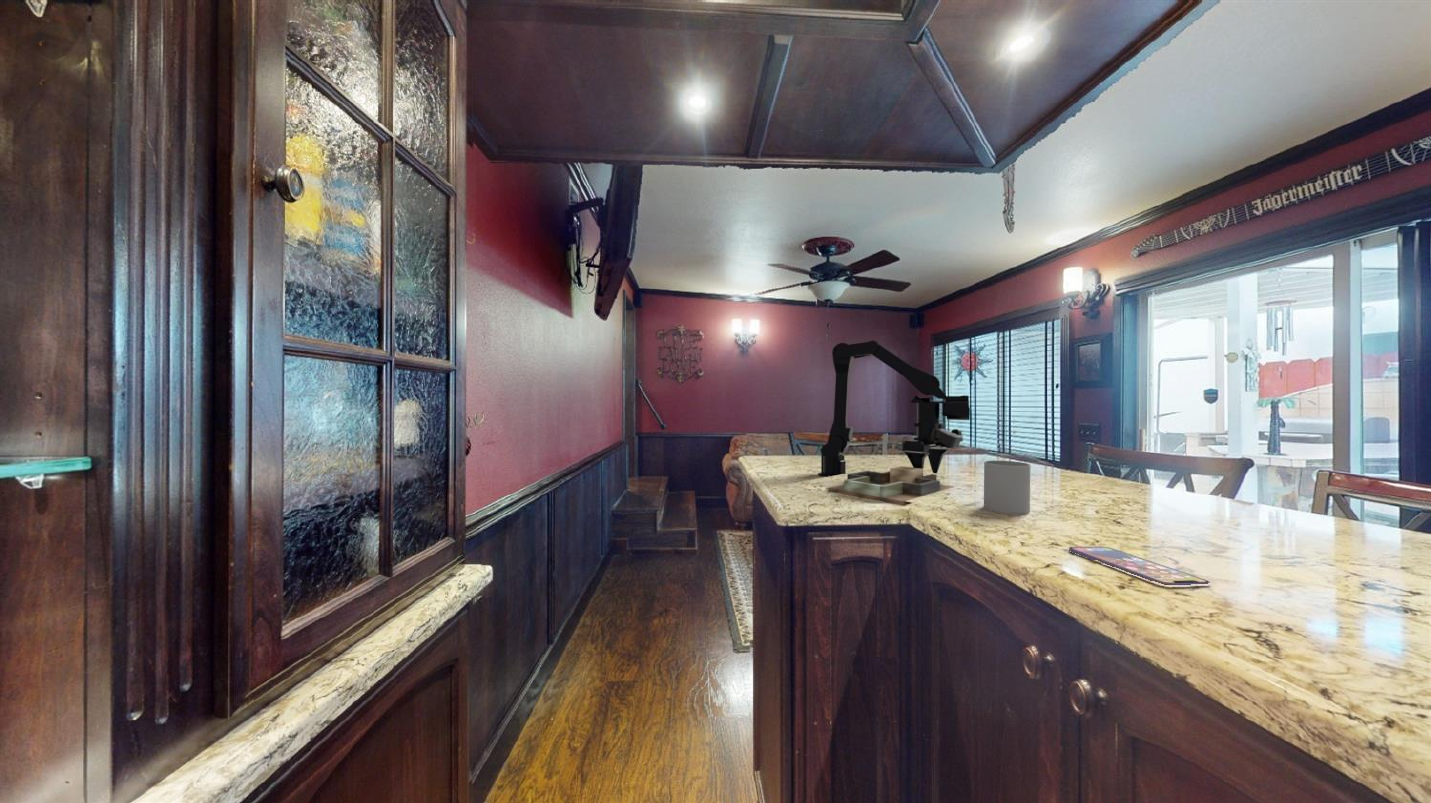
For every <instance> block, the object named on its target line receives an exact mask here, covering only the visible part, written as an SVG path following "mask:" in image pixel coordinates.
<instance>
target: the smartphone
mask: <svg viewBox="0 0 1431 803" xmlns="http://www.w3.org/2000/svg"><path fill="white" fill-rule="evenodd" d="M1069 551H1071V552H1073V553H1076V554H1079V555H1081V556H1084V557H1087V558H1089V559H1092V560H1098V561H1100V562H1102V563H1105V564H1107V565H1110V566H1112V567H1116V568H1119V569H1121V570H1124V571H1126V572H1129V573H1131V574H1134V575H1137V576H1140V577H1142V578H1145V579H1148V580H1150V581H1155V582H1158V583H1161V584H1164V585H1191V584H1208V583H1211V582H1210V580H1208V579H1204V578H1201V577H1199V576H1196V575H1193V574H1189V573H1186V572H1183V571H1181V570H1178V569H1175V568H1172V567H1169V566H1166V565H1163V564H1160V563H1156V562H1154V561H1151V560H1149V559H1148V560H1147V559H1145V558H1142V557H1138V556H1136V555H1133V554H1130V553H1127V552H1125V551H1121V550H1118V549H1115V548H1112V547H1109V546H1070V547H1069V548H1068V552H1069ZM1073 553H1072V554H1073ZM1081 556H1080V557H1081ZM1089 559H1088V560H1089Z"/></svg>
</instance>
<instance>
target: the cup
mask: <svg viewBox="0 0 1431 803" xmlns="http://www.w3.org/2000/svg"><path fill="white" fill-rule="evenodd" d="M983 464H984V465H983V466H984V467H983V508H984V509H985V510H986V509H988V510H987V511H989V510H991V511H990V512H992V511H995V512H994V513H997V512H999V513H998V514H1002V513H1005V514H1004V515H1011V516H1013V515H1014V516H1015V515H1018V516H1022V515H1029V514H1030V513H1031V464H1030V463H1027V462H1020V461H1012V460H1011V461H1010V460H984V462H983Z"/></svg>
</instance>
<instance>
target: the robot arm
mask: <svg viewBox="0 0 1431 803" xmlns="http://www.w3.org/2000/svg"><path fill="white" fill-rule="evenodd" d="M831 355H832V362H833V367H834V372H835V386H834V387H835V388H834V402H833V403H834V406H833V422H832V424H831V426H830V429H829V430H830V431H829V434H828V439H827V443H825V444H824V445H823V446H822V447H821V448H820V453H821V454H820V455H821V456H820V460H821V461H820V462H821V463H820V464H821V465H820V470H821V472H817V475H820V476H825V477H826V476H827V477H834V476H840V475H844V474H845V475H846V474H847V472H846V466H847V465H846V464H847V462H846V460H845V455H844V452H845V450H846V449H847V448H848V447H849V446H850V445H851V442H853V441H854V438H853V432H854V429H855V428H854V426H850V424H849V421H848V418H849V415H848V414H849V401H850V400H849V396H850V376H851V371H852V369H853V366H854V362H855V359H860V358H865V357H869V356H873V357H875V358H876V359H878V360H879V361H880V362H882V363H884V364H886V366H888V367H889V368H891V369H893V370H894V371H896V372H897V373H898V374H900V375H901V376H903V377H904V378H905V379H906V380H907V381H908V382H909V383H910V384H911V385H912V386H913V387H914V388H915V389H917V391H919V393H921V394H922V395H925V396H933V397H935V398H937V399H938V400H939V399H940V400H943V401H938V400H935V401H934V400H933V401H932V400H931V397H922V396H921V397H920V396H919V395H918V394H916V395H915V396H914V397H913V398H912V399H911V400H910V401H909V402H910V404H916V411H917V413H916V415H917V416H916V422H913V427H916V436H915V437H913V439H907V440H904V441H903V442H901V451H903V452H904V454H905V455H906V456H907V458H908V460H909V461H910V464H911V466H912V468H920V469H923V470H924V466H925V459H926V458H927V457H928V461H929V464H930V469H931V471H932V474H938V472H939V469H940V466H941V462H942V461H943V457H944V455H945V454H947V453H948V452H950V451H951V449H954V448H959V446H960V443H961V442H963V441H964V439H963V438H964V436H963V434H962V433H963V432H962V430H960V429H958V428H953V429H952V430H947V429H945V428H944V424H943V423H942V422H940V405H941V410H942V412H941V417H946V421H970V419H971V418H970V416H971V415H970V414H971V407H970V400H969V399H970V396H969V395H965V394H964V395H946V392H944V391H943V390H942V389H941V387H940V380H939V378H938V377H937V376H935V375H933V374H931V373H929V372H926V371H924V370H923V369H919V368H917V367H915V366H913V365H911V364H910V363H908V362H906V361H905V360H904V359H902V358H901V357H899V356H898V355H896V354H894V353H893V352H892V351H890V350H888V349H887V348H885V347H884V346H883V345H881V344H880V343H879V342H878V341H876V340H869V341H866V342H857V343H852V344H851V343H850V344H848V343H846V342H840V343H837V344H836V345H834V347H833V348H832V351H831Z"/></svg>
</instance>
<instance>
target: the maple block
mask: <svg viewBox="0 0 1431 803" xmlns="http://www.w3.org/2000/svg"><path fill="white" fill-rule="evenodd" d="M889 471H890V484H891V483H895V482H900V481H902V482H909V483H915V478H917V477H922V476H924V468H923V469H920V468H913V466H912V467H911V466H902V465H901V466H896V467H890V469H889Z"/></svg>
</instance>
